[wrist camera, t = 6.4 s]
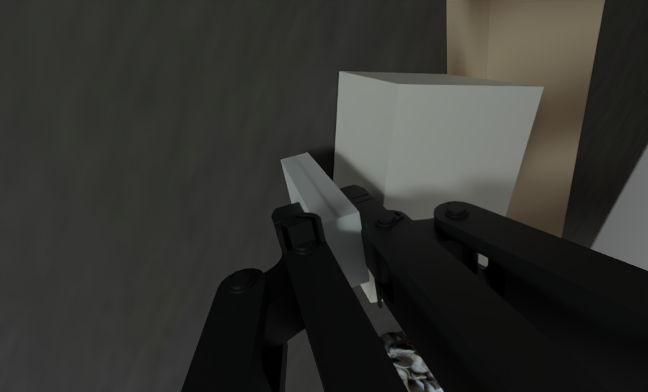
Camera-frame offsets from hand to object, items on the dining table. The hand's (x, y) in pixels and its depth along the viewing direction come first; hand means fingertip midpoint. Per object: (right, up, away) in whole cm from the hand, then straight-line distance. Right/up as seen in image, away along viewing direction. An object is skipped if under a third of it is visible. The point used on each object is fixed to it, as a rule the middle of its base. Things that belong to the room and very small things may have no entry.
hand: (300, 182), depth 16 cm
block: (+5, +1, +2) cm, 5 cm away
